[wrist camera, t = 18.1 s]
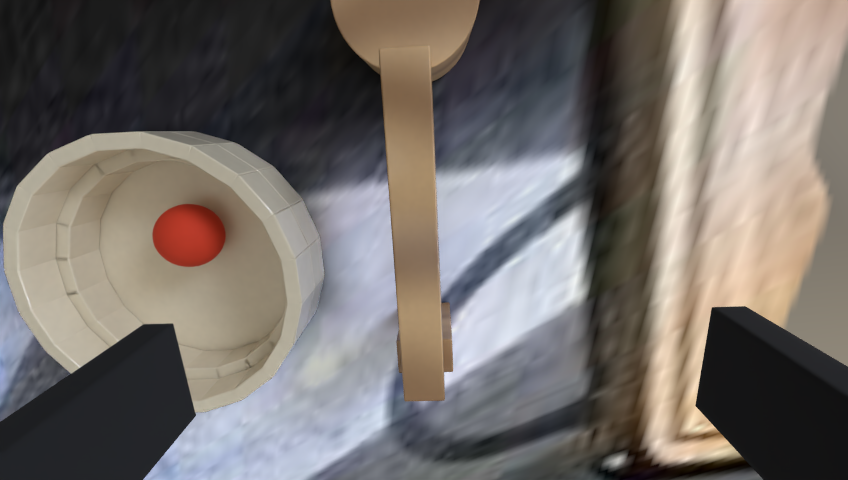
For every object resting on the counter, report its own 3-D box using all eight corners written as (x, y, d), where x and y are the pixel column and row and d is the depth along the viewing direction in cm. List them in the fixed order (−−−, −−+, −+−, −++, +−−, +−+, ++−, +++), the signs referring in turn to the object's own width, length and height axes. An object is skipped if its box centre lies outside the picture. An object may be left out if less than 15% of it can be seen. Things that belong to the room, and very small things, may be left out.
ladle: (347, -41, 21) (302, -126, 14) (469, -50, 21) (486, -141, 14) (380, 332, 27) (359, 402, 20) (476, 329, 26) (489, 400, 19)
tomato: (173, 181, 22) (122, 230, 21) (216, 208, 21) (165, 261, 20) (210, 215, 26) (167, 259, 24) (249, 239, 24) (206, 287, 23)
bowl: (54, 138, 24) (-43, 141, 19) (310, 125, 23) (276, 124, 18) (119, 367, 28) (53, 415, 23) (338, 361, 27) (317, 410, 23)
